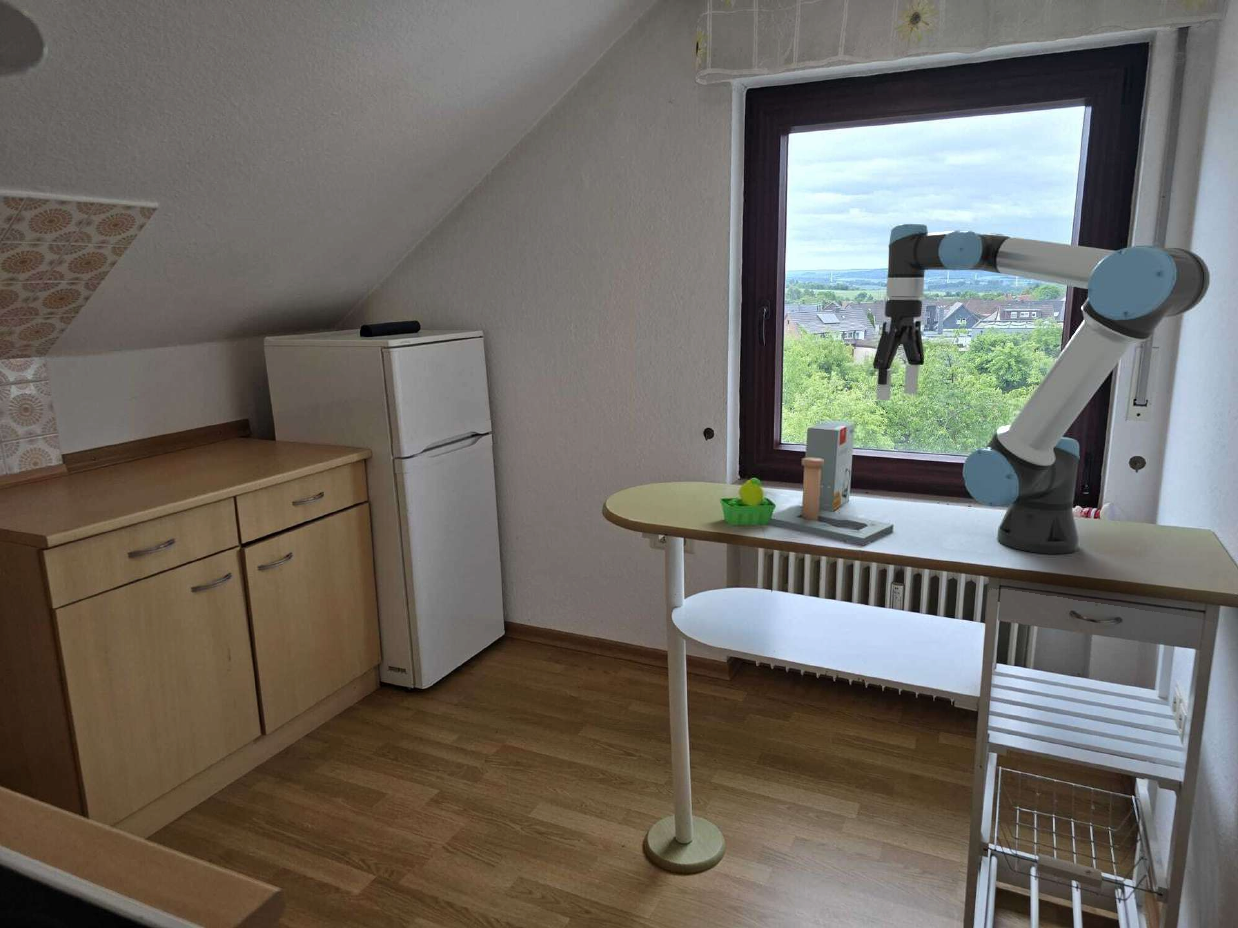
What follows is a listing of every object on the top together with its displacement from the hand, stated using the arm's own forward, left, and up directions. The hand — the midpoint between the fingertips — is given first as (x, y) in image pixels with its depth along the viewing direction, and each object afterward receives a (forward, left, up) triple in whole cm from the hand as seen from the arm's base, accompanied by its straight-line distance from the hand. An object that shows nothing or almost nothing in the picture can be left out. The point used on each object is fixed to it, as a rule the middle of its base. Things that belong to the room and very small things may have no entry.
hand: (897, 396), depth 185 cm
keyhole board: (+8, +13, -29) cm, 33 cm away
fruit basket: (+23, +22, -29) cm, 43 cm away
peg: (+13, +13, -29) cm, 34 cm away
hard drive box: (+18, -5, -29) cm, 35 cm away
